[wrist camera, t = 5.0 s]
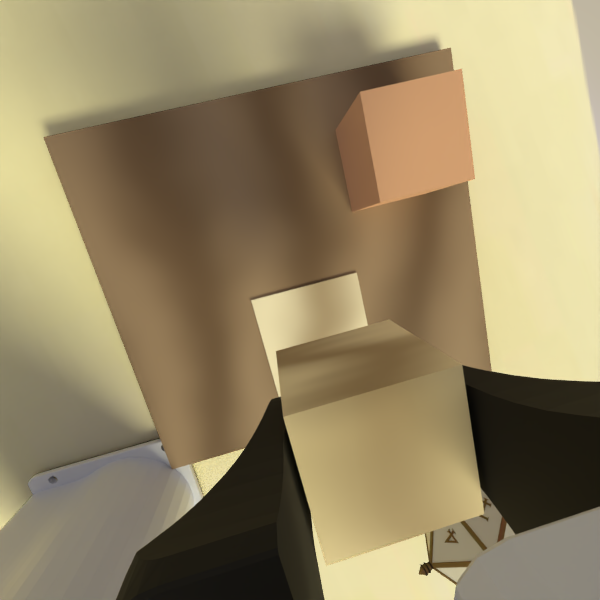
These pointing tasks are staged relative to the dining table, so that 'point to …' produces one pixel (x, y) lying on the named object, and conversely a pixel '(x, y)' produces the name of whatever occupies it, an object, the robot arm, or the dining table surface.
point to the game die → (464, 542)
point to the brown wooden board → (259, 248)
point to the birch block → (378, 437)
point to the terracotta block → (406, 140)
